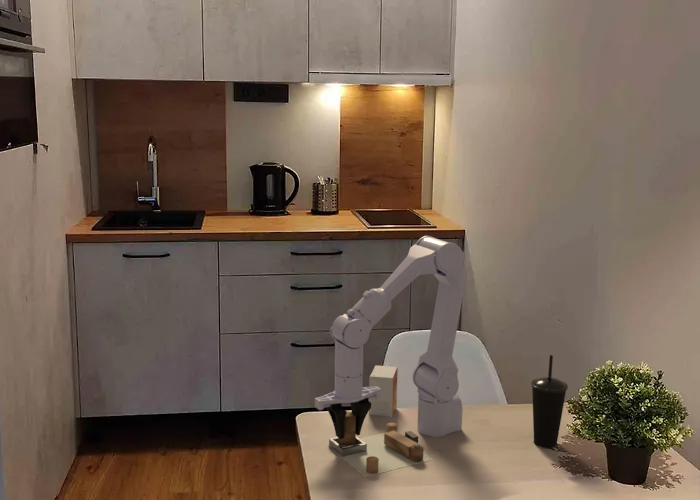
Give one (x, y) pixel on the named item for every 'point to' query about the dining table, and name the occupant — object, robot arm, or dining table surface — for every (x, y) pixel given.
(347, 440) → the loose leg
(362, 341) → the robot arm
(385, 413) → the small box
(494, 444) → the dining table surface
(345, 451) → the socket
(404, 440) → the folding leg
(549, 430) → the drinking cup
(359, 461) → the seat board
